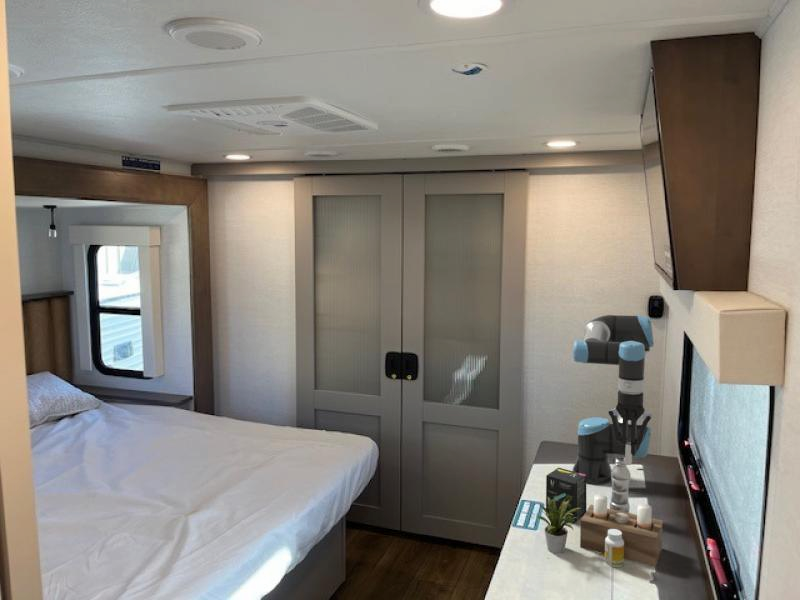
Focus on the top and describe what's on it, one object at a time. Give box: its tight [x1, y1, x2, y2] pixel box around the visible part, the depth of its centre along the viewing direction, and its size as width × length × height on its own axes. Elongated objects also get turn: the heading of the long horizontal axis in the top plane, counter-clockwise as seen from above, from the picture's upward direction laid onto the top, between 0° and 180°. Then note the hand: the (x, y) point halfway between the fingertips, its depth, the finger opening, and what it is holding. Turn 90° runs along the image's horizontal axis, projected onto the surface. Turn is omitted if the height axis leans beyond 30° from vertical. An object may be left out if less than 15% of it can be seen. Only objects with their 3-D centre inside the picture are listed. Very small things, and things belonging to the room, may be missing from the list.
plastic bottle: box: [609, 456, 632, 513], centre depth 209 cm, size 6×7×20 cm
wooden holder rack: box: [579, 504, 664, 568], centre depth 189 cm, size 12×22×10 cm, turn 59°
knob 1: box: [593, 494, 608, 521], centre depth 192 cm, size 4×4×10 cm
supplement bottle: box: [604, 529, 625, 568], centre depth 181 cm, size 5×5×10 cm
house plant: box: [535, 497, 580, 555], centre depth 187 cm, size 14×14×16 cm
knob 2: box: [636, 503, 653, 531], centre depth 185 cm, size 4×4×10 cm
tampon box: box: [545, 467, 587, 525], centre depth 210 cm, size 11×9×15 cm
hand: (628, 463), depth 194 cm, fingers closed
